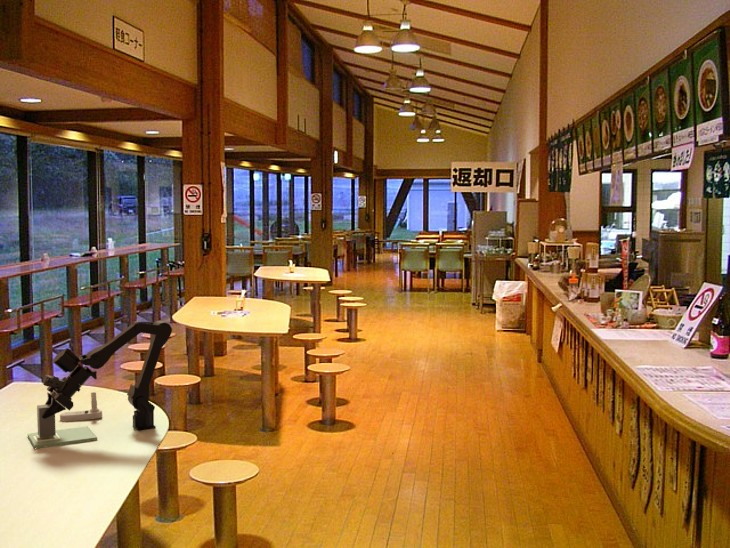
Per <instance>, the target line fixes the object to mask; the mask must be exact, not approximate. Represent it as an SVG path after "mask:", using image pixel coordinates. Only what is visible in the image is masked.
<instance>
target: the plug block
mask: <svg viewBox="0 0 730 548" xmlns="http://www.w3.org/2000/svg"><path fill="white" fill-rule="evenodd" d="M49 406H50V404H46V405H45V404H40V405H39V404H38V405H37V406H36V411H37V412H36V416H37V417H36V420H37V433H38V435H39V437H48V436H55V435H56V432H55V430H56V414H54V415H52V416H50V417H48V418H46V419H44V418H42V416H43V414H44V413H45V412H46V410H47V409H48V407H49Z"/></svg>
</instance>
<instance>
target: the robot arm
mask: <svg viewBox="0 0 730 548" xmlns="http://www.w3.org/2000/svg"><path fill="white" fill-rule="evenodd" d="M141 333H142V334H149V337H150V338H149V346H148V349H147V352H146V356H145V358H144V360H143V364H142V367H141V370H140V373H139V377H138V380H137V381H136V383H134V385H133V384H130V385H129V390H128V392H127V393H126V396H127V401H128V403H129V404H130V405H131V406H132V407H133V408H134V409H133V415H132V427H133V429H136V430H137V431H143V430H150V429H155V428H156V425H155V419H154V418H155V415H154V414H155V413H154V411H155V407H156V406H155V405H154V404H152V403H151V402H150V400H149V399H150V391H151V390H150V389H151V388H150V385H151V382H152V379H153V377H154V376H153V375H154V373H155V370H156V367H157V364H158V362H159V357H160V355H161V352H162V349H163V348H164V346H165V345H166V343H167V342H168V340H169V339H170V337H171V335H172V333H173V328H172V326H171V325H170V324H169V323H168V322H166V321H163V320H156V321H154V322H153V321H142V320H141V321H140V320H134V321H133V322H132V323H131V324H130V325H129V326H127V327H126V328H124V329H123V330H122V331H120V332H119V333H118V334H117V335H115V336H114V337H113V338H111V339H110V340H109V341H107V342H106V343H105V344H101V345H99V346H97V347H95V348H93V349H91V350H89V351H87V353H85V354H81V355H76V354H75V353H73V352H72V350H71V349H70V348H69V347H66V348H65V349H63V350H62V351H60V352H58V353H57V354H56V355H55V357H54V358H53V359H52V363H53V364H54V365H55V366H56V367H58V368H59V369H60V370H62V372H63V373H69V375H68V376H65V377H63V378H59V377H58V376H55V375H49V374H45V375H44V377H43V380H42V382H41V383H42V384H43V386H45V387H47V388H46V390H47V393H46V394H47V400H46V402H45V403H44V405H46V404H50V406H49V407H48V409H47V410H46V412H45V413H44V414H43V416H42V418H44V419H46V418H48V417H50V416H52V415H54V414H55V415H56V414H58V413H60V412H61V413H62V412H63V411H66V410H68V412H71V410H72V409H73V408H74V402H73V398H72V397H73V396H74V395H75V394H76V393H77V392H78V393H79V392H80V391H81V390H82V389H81V387H82V386H83V385H84V384H85V383H86V382H87V381H88V380H89V379H90V378H92V379H94V380H98V377H97V373H98V372H97V370H99V369H102V368H103V367H104V366H105V365H106V363H108V362H109V361H110V359H111V357H112V356H113V355H114V354H115V353H116V352H117V351H118V350H120V349H121V348H123V347H124V346H125V345H126V344H128V343H129V342H130V341H132V340H133V339H134V338H136V337H137V336H138V335H140V334H141ZM81 364H82V365H83V366H82V365H81ZM89 367H90V368H89ZM91 369H94V370H91Z"/></svg>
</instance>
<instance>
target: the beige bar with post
mask: <svg viewBox="0 0 730 548" xmlns="http://www.w3.org/2000/svg"><path fill="white" fill-rule="evenodd" d="M90 397H91V398H90V399H91V401H90V402H91V403H90V404H91V409H89V410H78V411H77V410H76V411H66V412H61V413H60V414H59V420H60V421H61V422H75V421H76V422H77V421H85V420H86V421H87V420H97V419H101V418H102V417H103V410H102V409H99V408H98V400H97V392H93V391H92V392H91V393H90Z"/></svg>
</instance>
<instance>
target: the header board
mask: <svg viewBox="0 0 730 548" xmlns="http://www.w3.org/2000/svg"><path fill="white" fill-rule="evenodd" d="M55 432H56V435H55V436H48V437H39V435H38V432H31V433H27V439H28V440H29V442H30V441H31V442H30V443H31V445H32V446H34V447H33V448H34V449H35V448H36V449H42V448H43V449H44V448H50V446H51V447H57V446H65V445H71V444H78V443H79V442H80V443H86V442H85V441H87V442H92V441H91V440H94V441H98V436H97V435H96V434H95V433H94V431H92V429H91V428H90V427H89V426H88V425H87V426H86V425H85V426H79V427H78V426H77V427H71V428H63V429H55ZM80 443H79V444H80Z"/></svg>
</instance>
